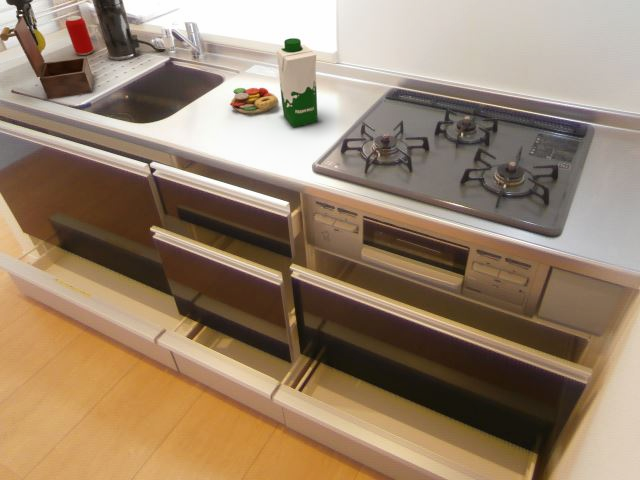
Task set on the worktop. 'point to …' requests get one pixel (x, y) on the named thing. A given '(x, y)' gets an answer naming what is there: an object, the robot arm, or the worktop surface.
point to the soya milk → (298, 82)
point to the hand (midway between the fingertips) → (36, 42)
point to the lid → (25, 44)
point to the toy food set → (253, 100)
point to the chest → (66, 77)
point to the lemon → (40, 40)
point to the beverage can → (79, 35)
